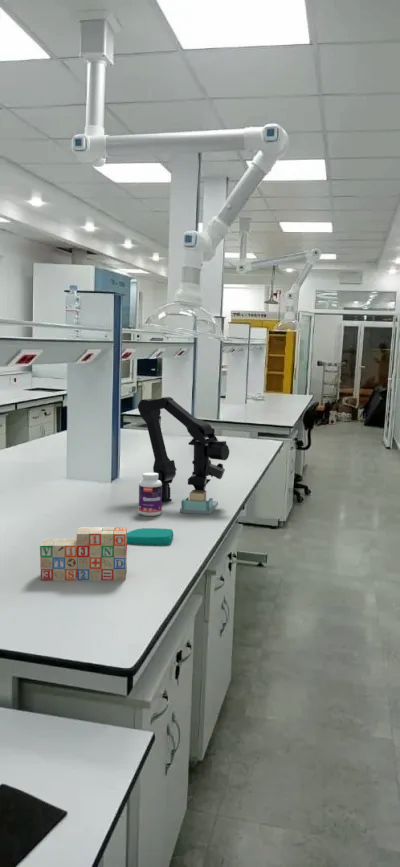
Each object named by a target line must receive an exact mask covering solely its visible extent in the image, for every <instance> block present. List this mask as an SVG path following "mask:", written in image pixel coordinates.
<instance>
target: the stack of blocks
mask: <svg viewBox="0 0 400 867" xmlns="http://www.w3.org/2000/svg"><path fill="white" fill-rule="evenodd" d="M127 530H128V527H120V526H119V527H115V526H103V527H102V526H95V527H94V526H85V527H84V526H82V527H81V526H80V527H78V529H77V532H76V538H43V540H42V541H41V543H40V545H39V557H40V558H39V560H40V561H39V562H40V567H39V569H40V581H55V582H56V581H60V582H63V581H69V582H70V581H74V582H75V581H126V578H127V573H128V572H127V570H128V569H127V568H128V567H127V566H128V565H127V564H128V563H127V559H128V556H127V555H128V552H127V550H128V544H127V533H128V531H127Z"/></svg>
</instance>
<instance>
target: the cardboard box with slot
mask: <svg viewBox="0 0 400 867" xmlns="http://www.w3.org/2000/svg"><path fill="white" fill-rule="evenodd" d="M188 494H189V496H188V497H189V501H201V502H206V501H207V490H206V489H205V490H195V489H192V490H191V491H190V492H189V493H188Z"/></svg>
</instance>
